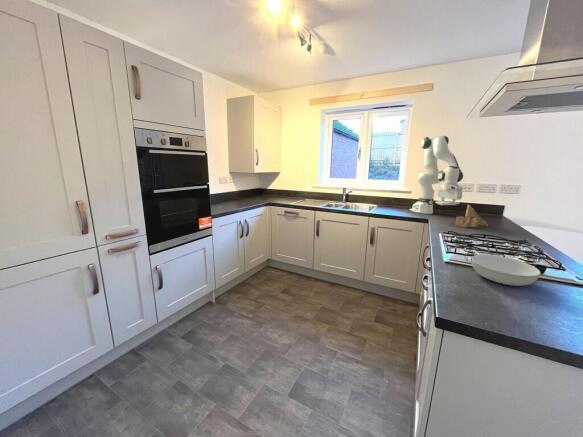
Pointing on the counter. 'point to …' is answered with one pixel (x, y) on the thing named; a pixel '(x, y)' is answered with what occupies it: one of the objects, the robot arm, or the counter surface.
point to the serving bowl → (505, 270)
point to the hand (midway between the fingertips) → (447, 203)
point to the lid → (446, 202)
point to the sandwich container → (475, 215)
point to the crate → (467, 221)
